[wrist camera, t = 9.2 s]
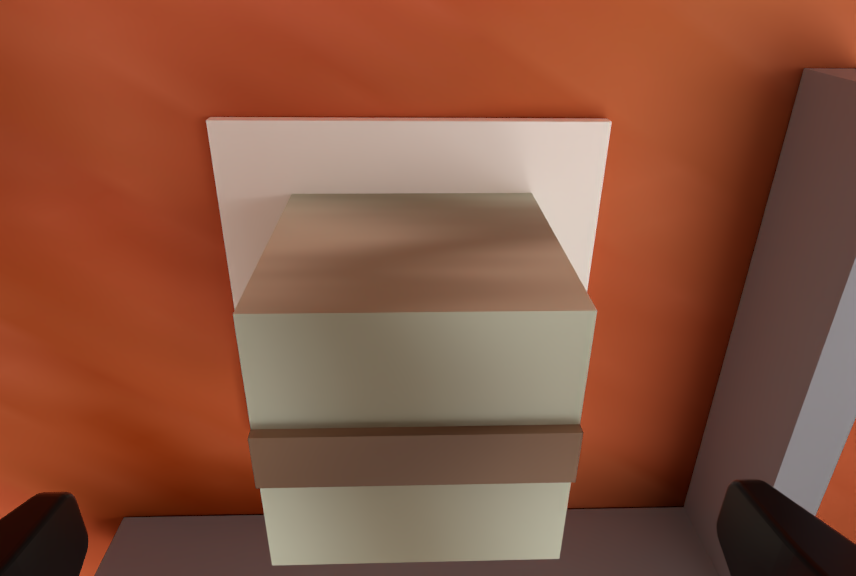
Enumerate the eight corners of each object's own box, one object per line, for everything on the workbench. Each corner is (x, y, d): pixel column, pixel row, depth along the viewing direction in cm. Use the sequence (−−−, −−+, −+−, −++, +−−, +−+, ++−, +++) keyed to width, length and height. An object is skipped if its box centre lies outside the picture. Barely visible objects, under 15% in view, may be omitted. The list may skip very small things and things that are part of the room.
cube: (532, 193, 13) (601, 318, 8) (514, 387, 15) (561, 568, 11) (291, 193, 13) (228, 321, 8) (310, 390, 15) (270, 575, 11)
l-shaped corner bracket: (862, 68, 12) (988, 96, 10) (715, 535, 19) (767, 631, 16) (-12, 62, 12) (-132, 91, 9) (132, 547, 18) (85, 649, 15)
